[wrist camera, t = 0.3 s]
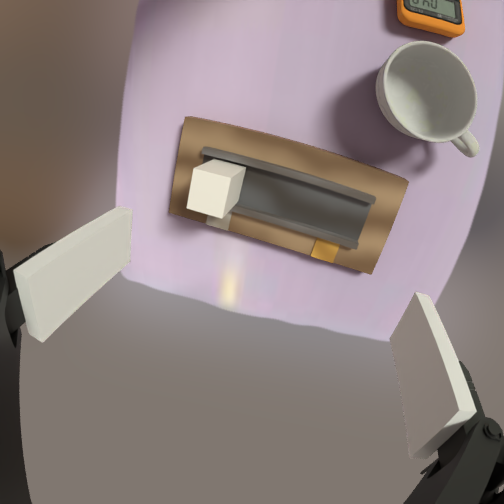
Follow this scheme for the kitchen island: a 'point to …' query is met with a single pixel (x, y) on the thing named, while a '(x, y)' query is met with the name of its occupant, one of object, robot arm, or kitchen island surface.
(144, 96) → the kitchen island surface
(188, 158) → the wooden slider track
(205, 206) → the switch knob
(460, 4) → the multimeter
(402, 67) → the teacup
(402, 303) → the kitchen island surface
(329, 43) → the kitchen island surface
